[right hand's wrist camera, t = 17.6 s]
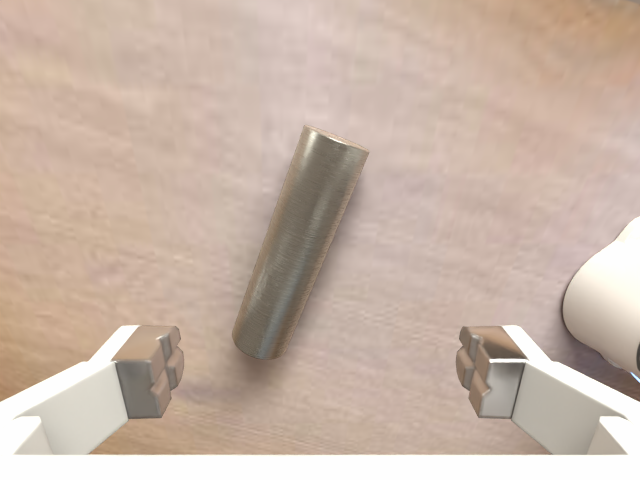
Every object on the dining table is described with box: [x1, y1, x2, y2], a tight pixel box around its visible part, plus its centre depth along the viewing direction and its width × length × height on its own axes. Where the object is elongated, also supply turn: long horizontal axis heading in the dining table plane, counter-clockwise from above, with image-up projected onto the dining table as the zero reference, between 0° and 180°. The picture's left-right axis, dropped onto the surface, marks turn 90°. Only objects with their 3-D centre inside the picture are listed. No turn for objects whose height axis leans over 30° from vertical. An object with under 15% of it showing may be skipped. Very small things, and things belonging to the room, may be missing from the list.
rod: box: [232, 125, 369, 360], centre depth 35 cm, size 23×6×6 cm, turn 159°
